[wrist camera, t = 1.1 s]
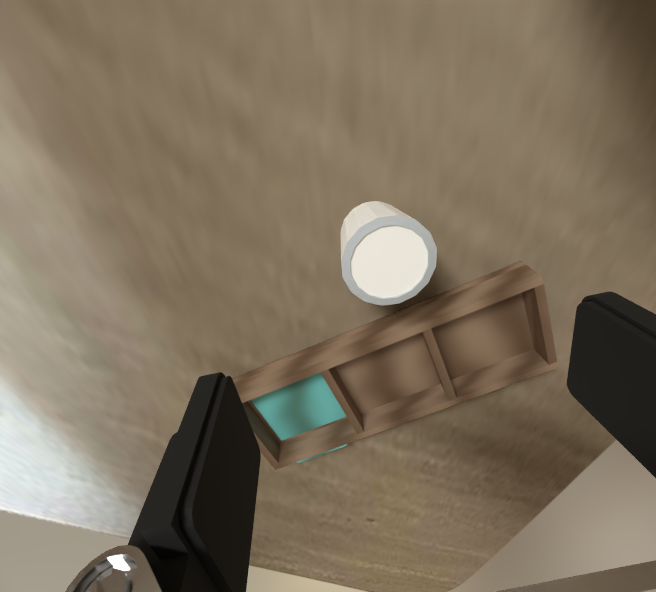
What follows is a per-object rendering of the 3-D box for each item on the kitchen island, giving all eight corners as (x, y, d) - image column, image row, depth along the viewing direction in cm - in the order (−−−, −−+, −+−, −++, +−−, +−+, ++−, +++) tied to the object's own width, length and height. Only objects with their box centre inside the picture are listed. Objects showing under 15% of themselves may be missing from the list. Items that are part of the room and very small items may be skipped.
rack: (520, 261, 33) (542, 276, 30) (538, 350, 39) (558, 371, 36) (228, 380, 38) (221, 404, 35) (279, 446, 43) (277, 472, 40)
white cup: (418, 196, 30) (448, 219, 24) (403, 271, 33) (426, 308, 27) (337, 190, 29) (347, 211, 23) (329, 267, 33) (336, 304, 26)
